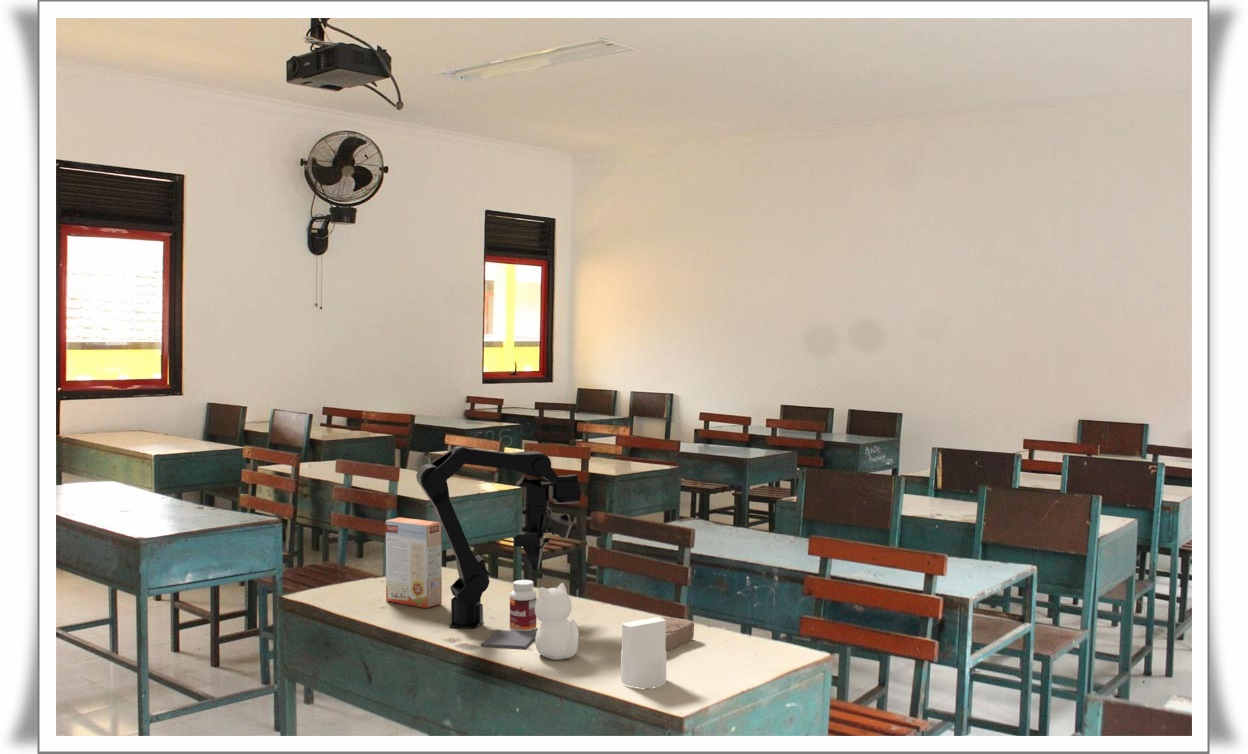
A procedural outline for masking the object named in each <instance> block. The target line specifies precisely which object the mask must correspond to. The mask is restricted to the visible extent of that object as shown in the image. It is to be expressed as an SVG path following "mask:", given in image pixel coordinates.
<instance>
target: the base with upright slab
mask: <svg viewBox="0 0 1248 754" xmlns="http://www.w3.org/2000/svg"><path fill="white" fill-rule="evenodd" d="M665 648H666V620H664V619H662V617H658V616H654V617H650V618H645V619H639V620H638V619H637V620H634V621H628V622H622V623H621V651H620V682H621V681H622V683H624V684H626V685H629V686H633V687H639V688H653V687H658V688H660V687H659V686H662V685H664V684H665V683H666V684H667V652H666V650H665ZM622 683H621V684H622ZM666 684H665V685H666ZM665 685H664V686H665ZM662 687H663V686H662ZM653 689H654V688H653Z"/></svg>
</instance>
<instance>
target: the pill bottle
mask: <svg viewBox="0 0 1248 754" xmlns="http://www.w3.org/2000/svg"><path fill="white" fill-rule="evenodd" d="M512 589H513V590H512V591H510V594H509V629H510V631H525V632H534V630H536V628H537V617H536V614H535V604H536V601H537V598H538V596H537V593H536V592H537V591H534V590H533V589H534V581H533V580H529V579H519V580H515V581H512Z"/></svg>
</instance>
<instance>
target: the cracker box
mask: <svg viewBox="0 0 1248 754" xmlns="http://www.w3.org/2000/svg"><path fill="white" fill-rule="evenodd" d="M442 564H443V563H442V524H441V521H431V520H424V519H417V518H407V517H396V518H392V519H386V520H385V601H386V602H388V601H391V602H390V603H394V602H396V603H395V604H401V605H406V606H410V607H411V606H413V607H417V608H423V609H428V608H433V607H435V606H439V605H442V604H443V603H442V601H443V600H442V598H443V596H442V593H443V592H442V590H443V589H442V588H443V585H442V583H443V582H442V579H443V578H442V576H443V575H442V571H443V570H442Z"/></svg>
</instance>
